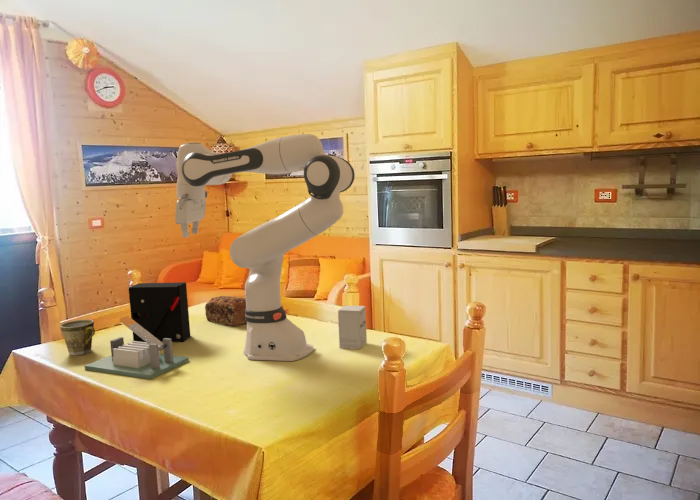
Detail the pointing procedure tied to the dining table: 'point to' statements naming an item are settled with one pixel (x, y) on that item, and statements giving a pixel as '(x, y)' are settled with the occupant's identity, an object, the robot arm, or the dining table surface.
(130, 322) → the grey flat bar
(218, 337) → the dining table surface
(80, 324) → the ceramic cup
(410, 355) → the dining table surface
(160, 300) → the electrical component
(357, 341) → the supplement box
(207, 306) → the bread
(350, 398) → the dining table surface
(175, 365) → the board
